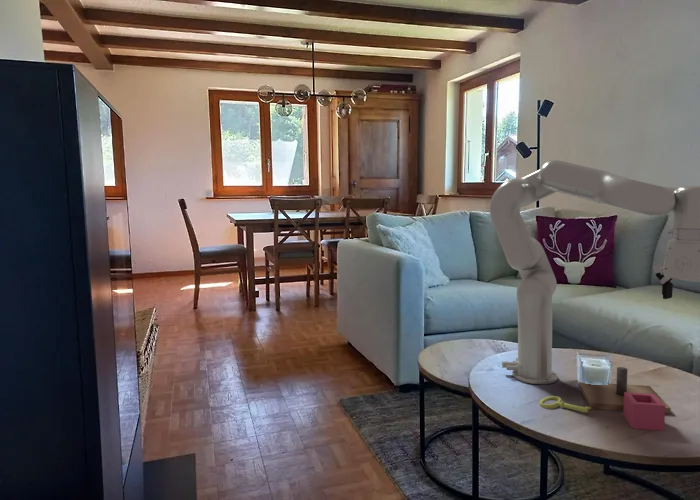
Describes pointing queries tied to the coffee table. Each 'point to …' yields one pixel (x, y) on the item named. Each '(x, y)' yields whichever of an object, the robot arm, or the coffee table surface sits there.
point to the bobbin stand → (614, 393)
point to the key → (562, 404)
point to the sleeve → (644, 411)
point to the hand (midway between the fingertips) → (687, 301)
